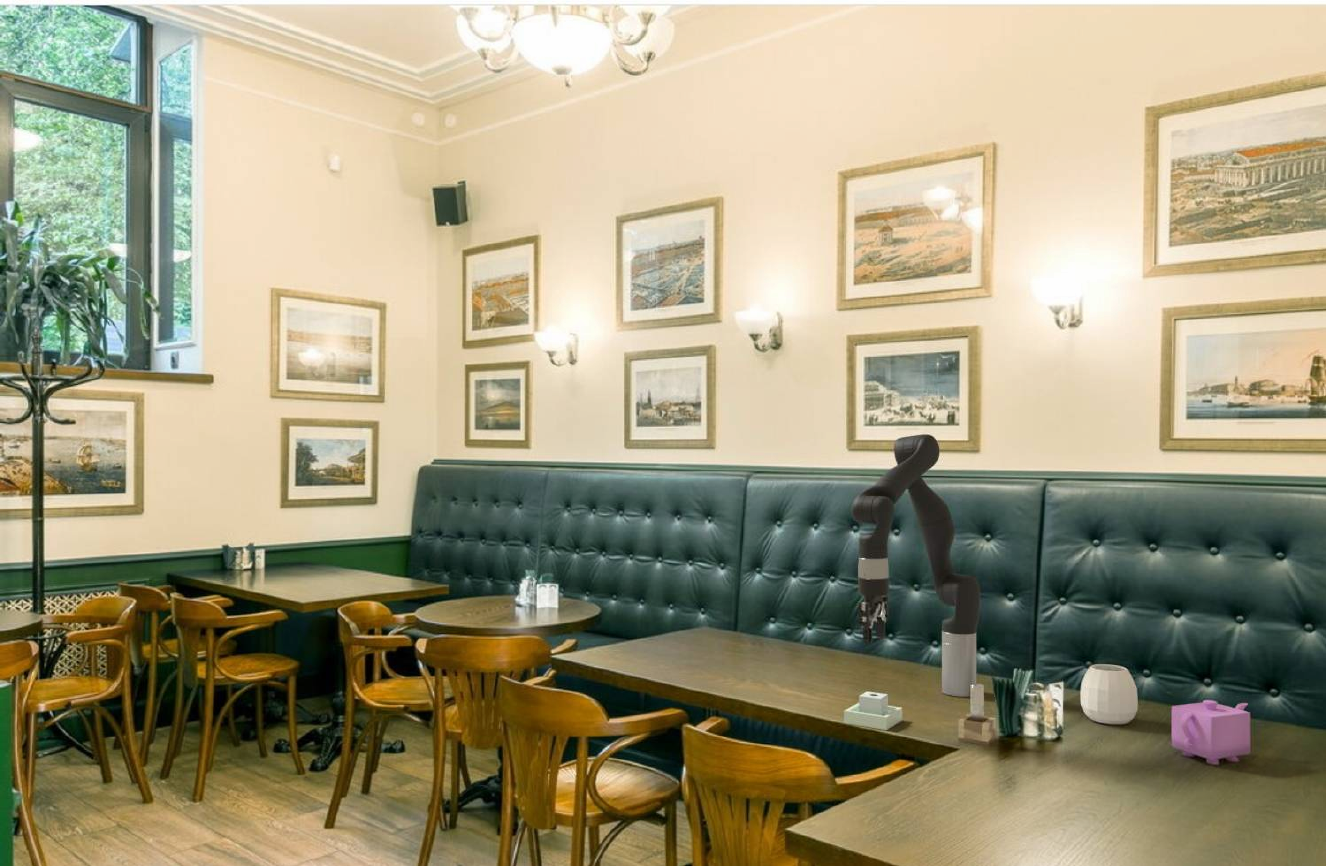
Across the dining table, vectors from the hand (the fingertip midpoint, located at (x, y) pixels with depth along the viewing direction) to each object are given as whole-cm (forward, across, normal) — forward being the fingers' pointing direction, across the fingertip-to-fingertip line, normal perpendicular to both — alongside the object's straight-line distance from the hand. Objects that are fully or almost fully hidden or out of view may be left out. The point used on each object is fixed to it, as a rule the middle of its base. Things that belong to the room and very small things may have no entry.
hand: (874, 640), depth 250 cm
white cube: (+20, 0, 0) cm, 20 cm away
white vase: (+22, -34, +49) cm, 63 cm away
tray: (+20, 0, 0) cm, 20 cm away
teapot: (+21, -16, +74) cm, 78 cm away
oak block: (+21, +1, +26) cm, 33 cm away
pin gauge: (+20, +1, +26) cm, 32 cm away
